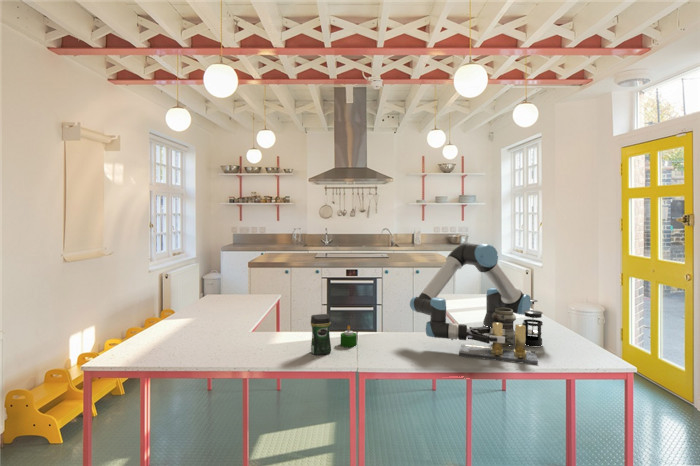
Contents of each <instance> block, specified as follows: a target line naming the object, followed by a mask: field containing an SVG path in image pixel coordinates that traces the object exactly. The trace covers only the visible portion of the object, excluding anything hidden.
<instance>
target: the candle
mask: <svg viewBox="0 0 700 466" xmlns="http://www.w3.org/2000/svg"><path fill="white" fill-rule="evenodd" d="M346 327H347V328H346V329H347V330H345V331H344V332H341V333H340V346H341V347H343V348H355V347H356V345H358V344H357V343H358V341H357V340H358V335H357V333H356V332H354V331H353V330H351V325H347V326H346ZM354 346H355V347H354Z"/></svg>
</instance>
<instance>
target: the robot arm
mask: <svg viewBox="0 0 700 466" xmlns="http://www.w3.org/2000/svg"><path fill="white" fill-rule="evenodd" d="M498 255H499V254H498V251H497V249H496V248H495V247H494V246H493V245H491V244H489V243H488V244H487V243H476V242H475V243H474V242H473V243H471V242H465V243H461V244H459V245H458V246H457V247H455V248H454V249H453V250H452V251H451V252H450V253H449V254H447V257H446V259H445V260H446V261H445V262H444V264H442V266H441V267H440V268H439V270H438V271H437V272H436V274H435V275H434V276H433V277H432V279H431V280H430V282H429V283H428V284H427V285H426V287H425V288H424V289H423V290H422V291H421V293H420V294H419V295H418V296H414V297H411V300H410V301H409V307H410V309H411V310H412V311H414V312H416V313H420V314H423V315H427V316H430V318H429V319H430V320H429V321H427V322H426V324H425V334H426V336H427V337H431V338H434V339H446V340H447V339H450V340H451V341H454V340H459V341H467V340H472V341H477V342H481V343H486V344H488V345H489V344H491V343H492V342H497V343H505V337H500V336H493V335H492V334H493V323H494V319H493V318H492V314H493V313H494V312H495V309H496V308H509V309H512V310H513V314H516V315H521V316H522V315H523V316H525V313H524V311H525V310H531V306H532V301H529V300H532V298H531V296H530V295H529V294H527V293H523V292H522V290H521V289H520V288H519V287H517V286H514V284H513V283H512V282H511V280H510V279H509V277H508V276H507V275H506V274H505V272H504V271H503V269H502V268H501V267H500V265H499V264H498V261H499V256H498ZM466 265H470V266H474V267H475V268H476V269H477V271H478V272H480V273H483V274H484V275H485V276H486V277H487V279H488V280H489V282H490V283H491V284H492V286H494V287H491V288H488V289H486V295H485V296H486V304H485V305H486V310H485V311H486V313H485V316H484V319H483V322H482V323H483V324H484V325H485V326H488V327H485V326H469V328H468V326H467V325H468V324H465V323H464V324H463V323H462V324H461V323H451V322H447V300H446V298H442V297H438V296H439V295H440V293H441V292H442V291H443V289H444V288H445V287H446V286H447V284H448V283H449V282H450V280H451V279H452V278H453V277H454V275H455V274H456V272H457V271H458V270H461V269H462V268H463V266H464V267H465V266H466ZM483 324H482V325H483ZM490 327H491V328H490ZM487 334H490V335H487ZM502 335H505V329H502Z"/></svg>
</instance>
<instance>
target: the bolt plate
mask: <svg viewBox="0 0 700 466" xmlns="http://www.w3.org/2000/svg"><path fill="white" fill-rule="evenodd" d="M514 327H515V328H514V331H515V337H514V348H512V349H510V348H504V347H502V348H503V354H498V355H496V353H492V346H483V345H473V344H464V343H463V344H460V347H459V351H458V356H459V357H464V358H465V357H466V358H473V359H474V358H476V359H483V358H485V360H492V359H496V360H495V361H501V360H504V361H503V362H510V361H515V362H514V363H519V362H523V363H522V364H528V363H531V364H533V365H537V364H539V361H538V360H539V359H538V357H537V353H536V351H534V350H533V351H531V350H526V345H525V334H526V326H525V325H522V323H520V324H518V323H517V324H515V326H514ZM531 364H530V365H531Z"/></svg>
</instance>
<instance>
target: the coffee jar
mask: <svg viewBox="0 0 700 466" xmlns="http://www.w3.org/2000/svg"><path fill="white" fill-rule="evenodd" d="M310 317H311V318H310V326H311V345H310V352H311V354H312V355H315V356H316V355H317V356H321V355H328V354H330V353H332V346H331V345H332V344H331V335H330V334H331V333H330V326H331V324H332V322H331V316H330V315H329V313H322V314H320V313H319V314H312V315H311V316H310Z"/></svg>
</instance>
